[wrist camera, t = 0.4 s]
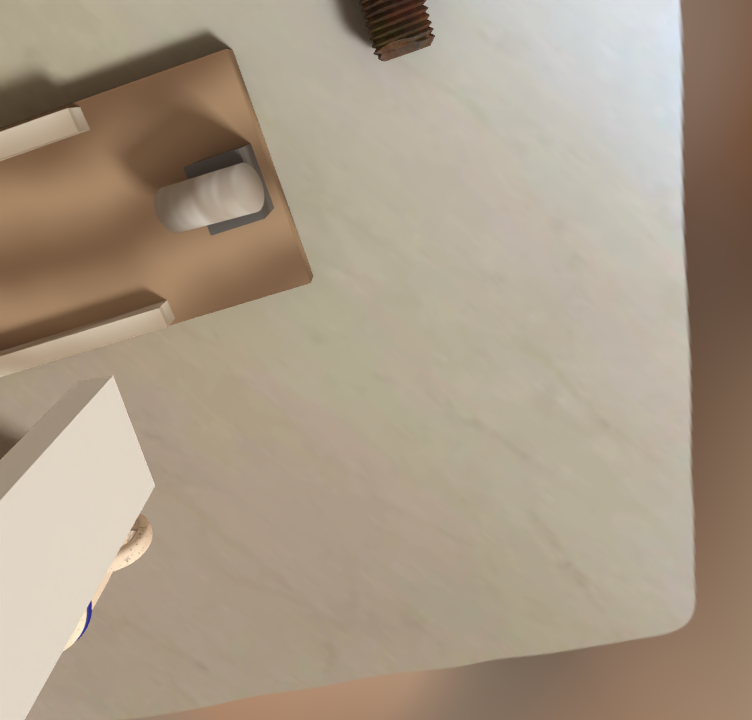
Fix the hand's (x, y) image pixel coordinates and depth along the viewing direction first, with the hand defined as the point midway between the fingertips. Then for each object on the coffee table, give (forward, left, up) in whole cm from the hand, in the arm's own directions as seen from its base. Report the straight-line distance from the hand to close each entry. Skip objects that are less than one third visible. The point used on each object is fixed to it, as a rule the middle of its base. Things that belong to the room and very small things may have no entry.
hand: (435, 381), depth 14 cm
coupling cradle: (-3, -21, -27) cm, 34 cm away
